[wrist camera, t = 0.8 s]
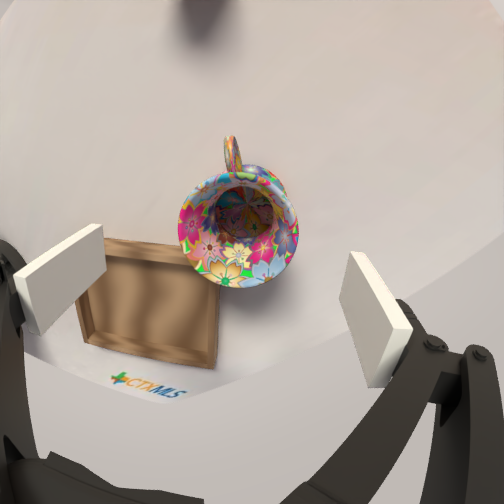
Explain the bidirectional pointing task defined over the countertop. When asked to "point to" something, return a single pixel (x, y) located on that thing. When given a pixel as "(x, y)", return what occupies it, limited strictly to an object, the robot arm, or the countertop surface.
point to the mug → (238, 224)
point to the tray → (151, 305)
